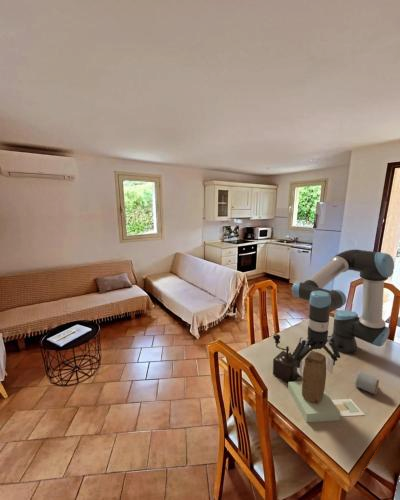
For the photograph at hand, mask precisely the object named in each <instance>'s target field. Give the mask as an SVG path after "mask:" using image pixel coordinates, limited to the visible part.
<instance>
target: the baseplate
mask: <svg viewBox="0 0 400 500" xmlns="http://www.w3.org/2000/svg"><path fill="white" fill-rule="evenodd" d="M287 384H288V385H287V391H288V392H289V394H290V396H291V397H292V399H293V401H294V403H295V404H296V406H297V409H298V410H299V412H300V413H301V415H302V417H303V419H304V421H305V423H318V422H320V423H321V422H332V421H333V422H334V421H340V420H341V419H340V418H341V415H340V411H339V410H338V408H337V407H336V406H335V404H334V403H333V402H332V400H333V399H331V398H330V397H329V395H328V393H327V392H326V390H324V393H323V397H322V400H321V402H320V403H318V404H317V403H311V402H309V401H308V400H306V399H305V398H304V397H303V396H302V380H301V381H298V380H296V381H295V382H288V383H287Z"/></svg>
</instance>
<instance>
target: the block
mask: <svg viewBox="0 0 400 500" xmlns="http://www.w3.org/2000/svg"><path fill="white" fill-rule="evenodd" d="M303 364H304V365H303V367H302V378H301V379H302V380H301V381H302V396H303V397H304V398H305V399H306V400H308V401H309V402H311V403H317V404H318V403H320V402H321V400H322V397H323V393H324V391H325V387H326V380H327V358H326V356H325V355H324V354H322V353H321V352H318V351H314V350H312V351H310V352H309V353H308V354H307V355H306V356H305V357H304V363H303Z"/></svg>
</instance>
